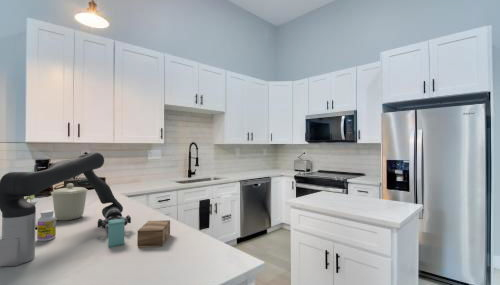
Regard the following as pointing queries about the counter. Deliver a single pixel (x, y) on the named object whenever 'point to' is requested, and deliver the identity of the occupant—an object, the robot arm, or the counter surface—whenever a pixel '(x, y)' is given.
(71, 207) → the canister
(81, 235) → the counter surface
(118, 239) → the teal lidded bin
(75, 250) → the counter surface
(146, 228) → the wooden crate
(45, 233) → the supplement bottle
